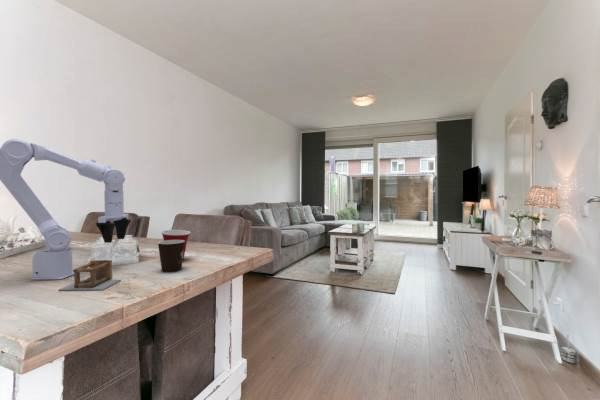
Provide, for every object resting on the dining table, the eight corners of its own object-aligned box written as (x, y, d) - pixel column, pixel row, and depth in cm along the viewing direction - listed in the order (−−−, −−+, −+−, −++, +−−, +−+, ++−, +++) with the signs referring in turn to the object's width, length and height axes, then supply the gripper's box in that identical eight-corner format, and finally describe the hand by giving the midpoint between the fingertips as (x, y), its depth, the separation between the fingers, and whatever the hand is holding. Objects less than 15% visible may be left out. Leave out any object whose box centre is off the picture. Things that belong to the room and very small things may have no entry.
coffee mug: (174, 274, 94) (174, 244, 94) (152, 272, 96) (152, 243, 96) (194, 265, 106) (194, 238, 105) (174, 263, 107) (174, 238, 107)
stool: (92, 278, 87) (73, 288, 79) (91, 260, 87) (71, 268, 79) (112, 278, 87) (94, 288, 79) (111, 259, 87) (93, 268, 79)
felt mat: (58, 291, 78) (58, 289, 78) (80, 281, 86) (80, 280, 86) (102, 290, 78) (102, 289, 78) (120, 280, 87) (120, 279, 87)
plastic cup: (180, 264, 106) (180, 233, 106) (155, 263, 108) (154, 232, 108) (196, 258, 117) (195, 229, 117) (172, 256, 119) (172, 228, 118)
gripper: (113, 204, 94) (113, 244, 94) (136, 202, 108) (136, 237, 109) (91, 204, 94) (92, 244, 94) (117, 202, 108) (118, 237, 108)
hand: (114, 240), depth 101 cm, fingers open, 7 cm apart
